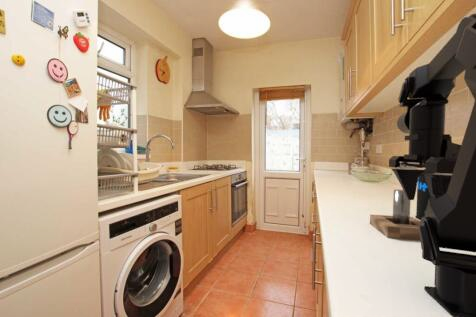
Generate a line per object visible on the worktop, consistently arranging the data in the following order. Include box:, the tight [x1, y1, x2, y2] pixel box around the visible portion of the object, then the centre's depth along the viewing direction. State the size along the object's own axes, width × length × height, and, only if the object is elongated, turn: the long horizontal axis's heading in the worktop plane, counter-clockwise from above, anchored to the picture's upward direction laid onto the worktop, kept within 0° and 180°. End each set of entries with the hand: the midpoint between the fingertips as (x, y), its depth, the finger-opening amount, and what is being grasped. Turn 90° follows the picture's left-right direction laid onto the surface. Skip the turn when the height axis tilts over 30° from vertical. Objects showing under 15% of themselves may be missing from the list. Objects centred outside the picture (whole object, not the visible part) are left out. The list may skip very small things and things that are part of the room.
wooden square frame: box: [369, 214, 421, 241], centre depth 67 cm, size 12×12×3 cm
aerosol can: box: [414, 168, 435, 221], centre depth 79 cm, size 8×8×20 cm
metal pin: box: [392, 189, 411, 225], centre depth 66 cm, size 4×4×12 cm
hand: (423, 204), depth 48 cm, fingers open, 9 cm apart
